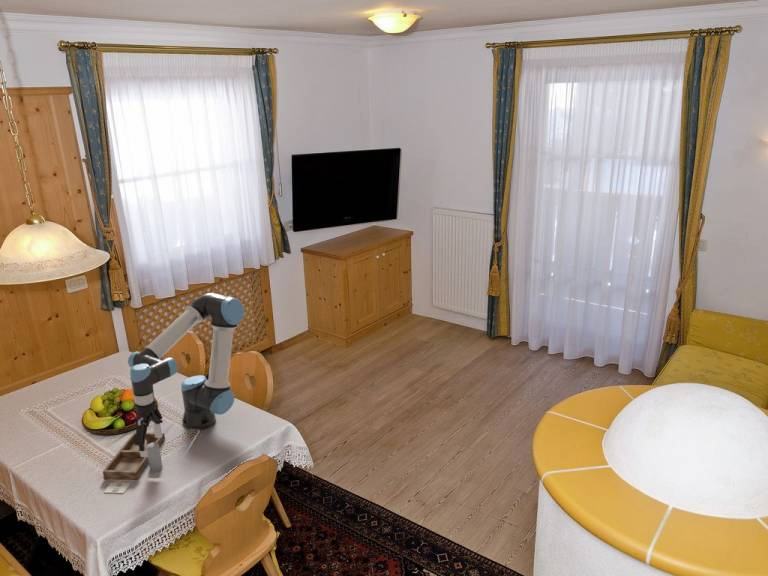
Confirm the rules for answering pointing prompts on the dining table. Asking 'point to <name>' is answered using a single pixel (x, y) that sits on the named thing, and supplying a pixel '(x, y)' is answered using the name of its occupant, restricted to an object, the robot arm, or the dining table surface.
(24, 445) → the dining table surface
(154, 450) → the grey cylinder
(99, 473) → the dining table surface
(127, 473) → the tray
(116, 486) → the card
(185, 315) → the robot arm
